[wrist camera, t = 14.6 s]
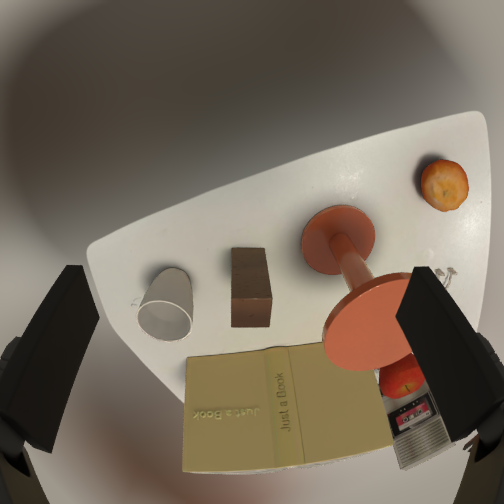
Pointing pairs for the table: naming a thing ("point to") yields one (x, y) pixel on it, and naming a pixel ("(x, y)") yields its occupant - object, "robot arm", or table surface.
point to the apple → (401, 377)
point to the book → (278, 412)
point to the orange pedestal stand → (356, 291)
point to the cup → (167, 307)
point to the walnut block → (250, 288)
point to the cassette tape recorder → (416, 427)
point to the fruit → (444, 185)
